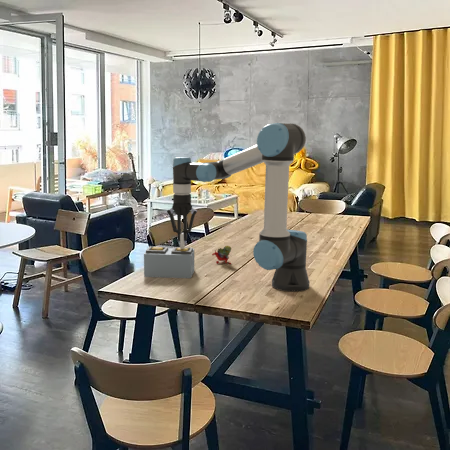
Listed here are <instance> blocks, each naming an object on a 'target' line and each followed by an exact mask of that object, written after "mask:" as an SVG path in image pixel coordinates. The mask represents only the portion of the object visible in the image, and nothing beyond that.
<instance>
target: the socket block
mask: <svg viewBox="0 0 450 450" xmlns="http://www.w3.org/2000/svg"><path fill="white" fill-rule="evenodd" d="M153 247H154V246H151V245H149V247H147V248H146V249H145V252H144V253H143V271H144V272H143V277H144V278H167V279H168V278H171V279H172V278H173V279H191V278H192V277H193V275H194V273H195V248H194V247H185V248H188V251H176V249H177V248H180V246H174V247H172V248H171V247H170V248H169V246H161V247H162V248H163V251H159V250H151V248H153Z"/></svg>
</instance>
